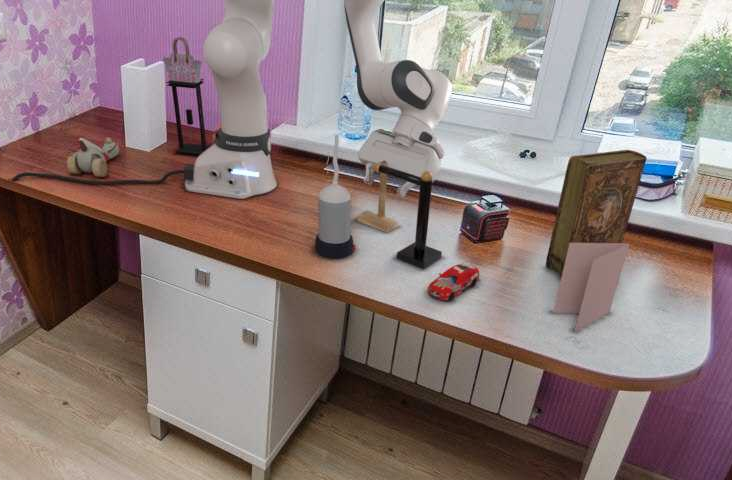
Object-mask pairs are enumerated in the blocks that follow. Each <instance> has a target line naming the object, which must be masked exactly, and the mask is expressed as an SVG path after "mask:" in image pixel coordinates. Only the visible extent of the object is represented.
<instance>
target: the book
mask: <svg viewBox="0 0 732 480" xmlns="http://www.w3.org/2000/svg"><path fill="white" fill-rule="evenodd" d="M646 162H647V155H644V154H643V153H641V152H638V151H635V150H632V149H621V150H612V151H605V152H595V153H587V154H578V155H572V156H570V157H569V159H568V162H567V165H566V170H565V174H564V180H563V183H562V188H561V192H560V197H559V201H558V206H557V210H556V214H555V218H554V224H553V228H552V233H551V237H550V242H549V246H548V251H547V255H546V259H545V267H546V269H549V270H552V271H554V272H556V273H557V274H559V276H560V278H561V277H562V273H563V269H564V265H565V260H566V256H567V252H568V248H569V243H623V241H624V238H625V235H626V231H627V227H628V224H629V221H630V217H631V214H632V210H633V207H634V203H635V200H636V196H637V193H638V190H639V187H640V182H641V179H642V176H643V172H644V169H645V166H646Z"/></svg>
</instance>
